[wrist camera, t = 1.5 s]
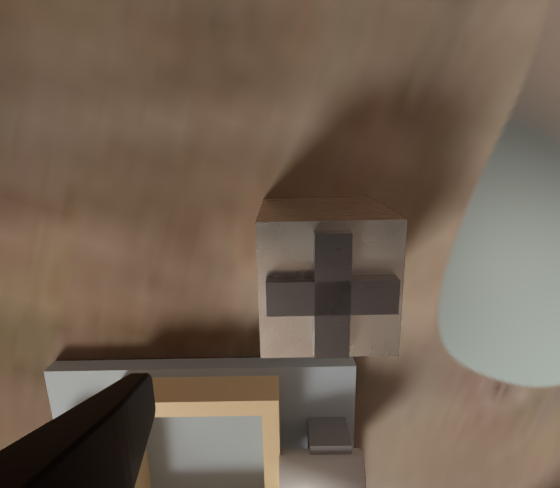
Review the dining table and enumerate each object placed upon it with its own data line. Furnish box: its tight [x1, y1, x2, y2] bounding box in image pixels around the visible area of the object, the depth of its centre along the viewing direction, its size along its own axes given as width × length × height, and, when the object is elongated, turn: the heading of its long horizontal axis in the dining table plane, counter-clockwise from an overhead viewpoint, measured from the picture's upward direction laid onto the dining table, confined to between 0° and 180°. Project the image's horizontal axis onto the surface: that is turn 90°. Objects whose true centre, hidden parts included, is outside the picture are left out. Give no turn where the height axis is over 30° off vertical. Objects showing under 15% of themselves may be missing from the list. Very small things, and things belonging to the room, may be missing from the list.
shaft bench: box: [44, 357, 366, 488], centre depth 20 cm, size 16×9×4 cm, turn 91°
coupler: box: [255, 196, 407, 359], centre depth 16 cm, size 5×5×7 cm
